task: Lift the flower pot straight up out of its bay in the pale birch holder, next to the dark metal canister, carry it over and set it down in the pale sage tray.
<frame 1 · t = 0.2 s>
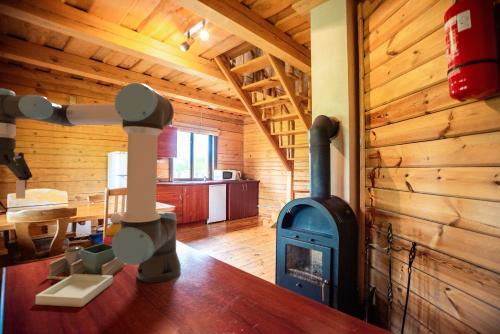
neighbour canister: (74, 270, 92), resting in holder
flower pot: (99, 272, 91), resting in holder
tray: (77, 292, 77), on the table
holder: (87, 271, 92), on the table
stacking toy: (117, 257, 106), on the table
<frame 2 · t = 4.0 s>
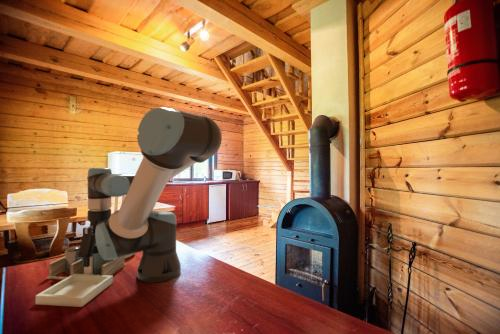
hand: (99, 268, 91), 1 cm above the table, fingers closed on flower pot, 10 cm apart
flower pot: (99, 272, 91), resting in holder, touching gripper
everything else where it was.
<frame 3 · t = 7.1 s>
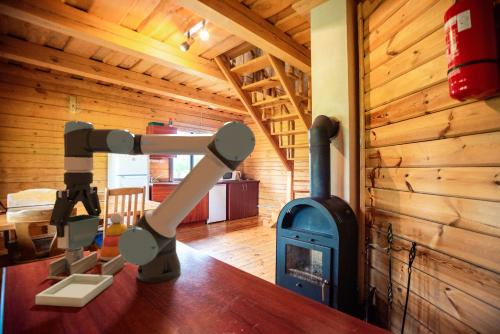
hand: (78, 241, 77), 16 cm above the table, fingers closed on flower pot, 10 cm apart
flower pot: (77, 246, 77), point 14 cm above the table, touching gripper
everything else where it was.
when the fingers open (4 cm above the table, at t = 10.3 s): flower pot drops 2 cm, resting on tray.
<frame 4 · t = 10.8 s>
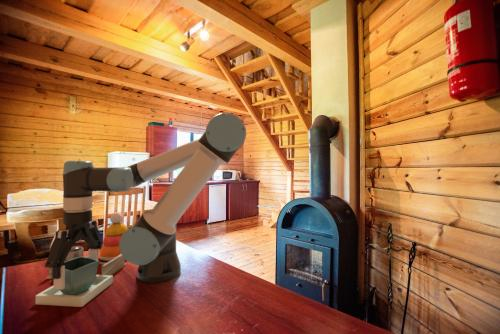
hand: (77, 277, 77), 5 cm above the table, fingers open, 13 cm apart
flower pot: (76, 292, 76), resting on tray
everything else where it was.
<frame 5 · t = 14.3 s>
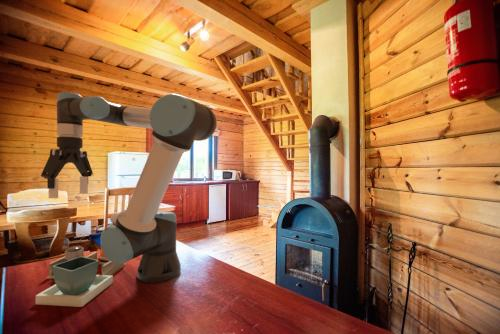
hand: (69, 195, 89), 29 cm above the table, fingers open, 13 cm apart
nothing on the table moved.
at the end: flower pot inside the target area on the tray (0.4 cm from its centre), point 0.4 cm above the tray's base; flower pot tilted 0°; the gripper is holding nothing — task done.
